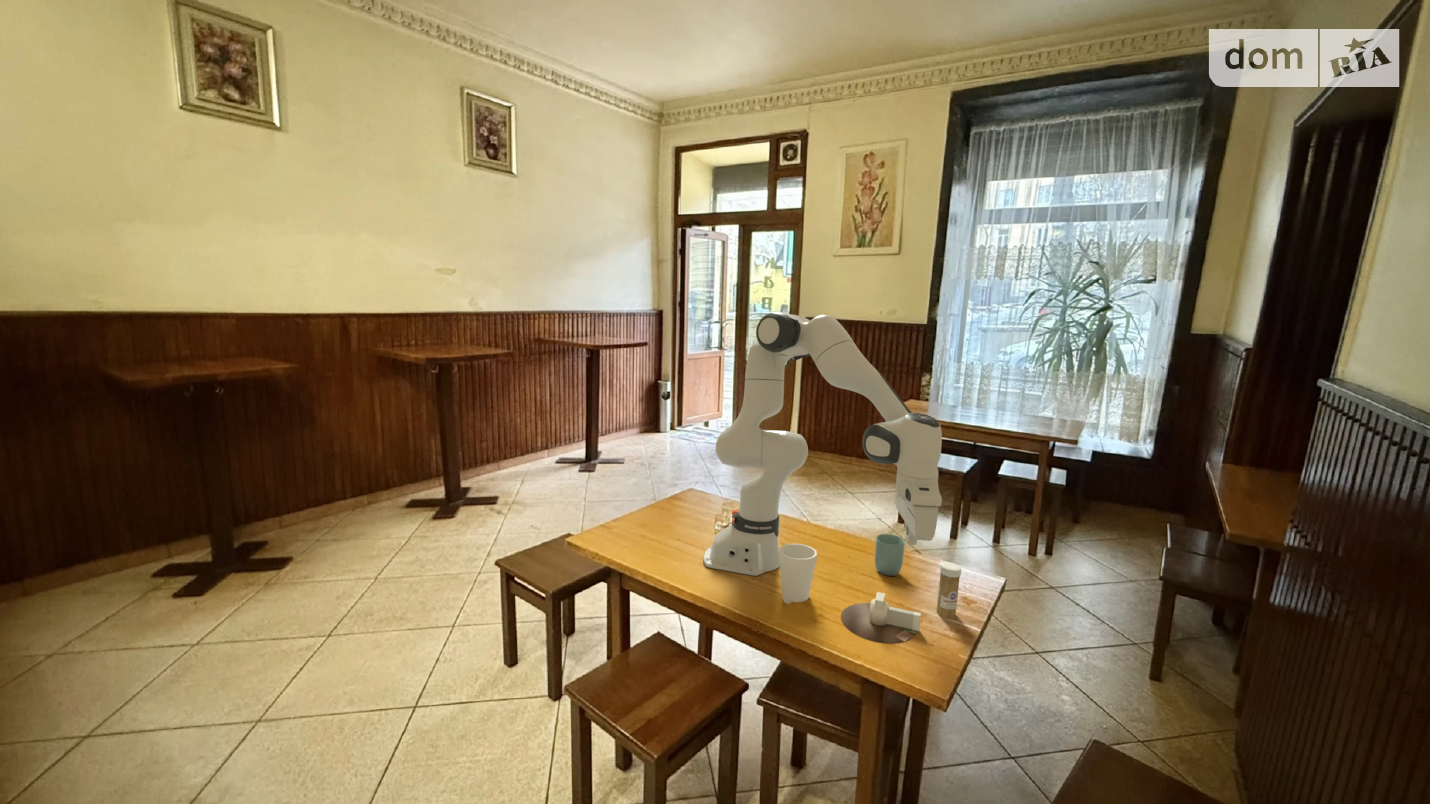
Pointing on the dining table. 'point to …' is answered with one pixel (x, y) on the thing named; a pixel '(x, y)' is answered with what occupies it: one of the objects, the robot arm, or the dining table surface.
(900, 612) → the cream toy mallet
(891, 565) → the cup
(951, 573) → the sprinkles bottle
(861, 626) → the dial
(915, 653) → the dining table surface
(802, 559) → the foam cup
